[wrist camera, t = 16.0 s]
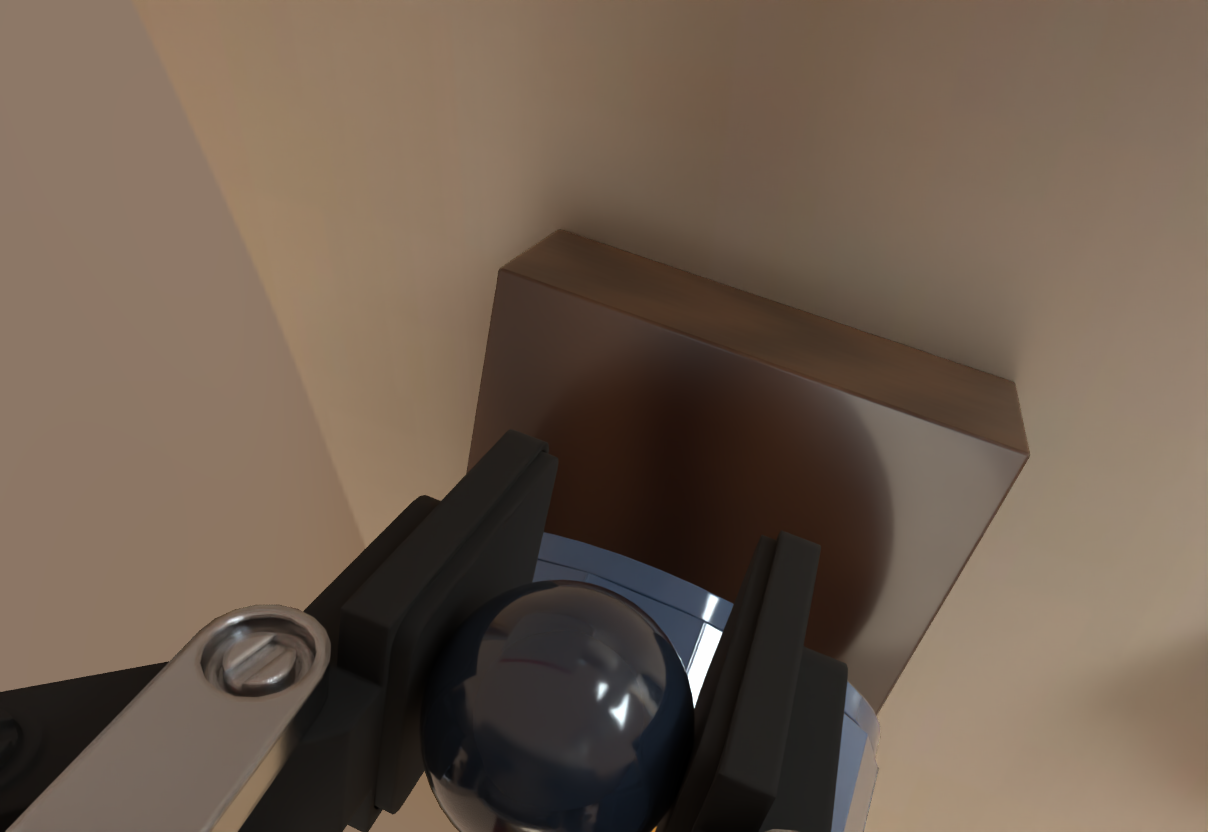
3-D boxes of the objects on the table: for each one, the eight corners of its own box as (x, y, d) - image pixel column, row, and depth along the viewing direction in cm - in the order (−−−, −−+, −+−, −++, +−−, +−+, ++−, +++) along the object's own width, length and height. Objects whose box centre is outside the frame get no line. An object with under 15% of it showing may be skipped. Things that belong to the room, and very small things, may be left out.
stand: (1016, 381, 21) (1032, 454, 18) (850, 684, 28) (838, 781, 24) (558, 227, 24) (497, 267, 20) (498, 537, 30) (443, 607, 27)
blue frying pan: (1260, 536, 8) (1247, 1231, 6) (811, 781, 24) (754, 990, 22) (268, 187, 10) (-77, 575, 8) (460, 625, 27) (370, 798, 24)
